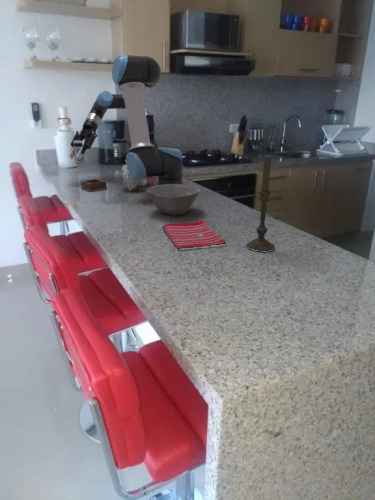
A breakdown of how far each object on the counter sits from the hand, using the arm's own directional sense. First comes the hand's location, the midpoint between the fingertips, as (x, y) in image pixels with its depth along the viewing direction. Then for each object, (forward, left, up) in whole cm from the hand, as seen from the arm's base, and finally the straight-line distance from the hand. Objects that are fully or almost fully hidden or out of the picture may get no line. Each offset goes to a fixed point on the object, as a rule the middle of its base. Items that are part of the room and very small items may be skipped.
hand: (74, 157), depth 206 cm
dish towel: (-103, +8, -16) cm, 104 cm away
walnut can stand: (-13, -3, -15) cm, 20 cm away
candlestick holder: (-125, -1, -15) cm, 125 cm away
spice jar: (+1, -3, -4) cm, 5 cm away
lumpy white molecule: (-25, -24, -15) cm, 38 cm away
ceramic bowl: (-75, -6, -15) cm, 76 cm away
